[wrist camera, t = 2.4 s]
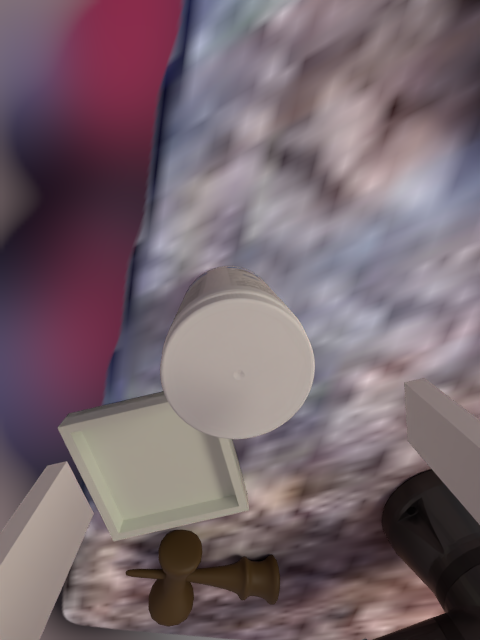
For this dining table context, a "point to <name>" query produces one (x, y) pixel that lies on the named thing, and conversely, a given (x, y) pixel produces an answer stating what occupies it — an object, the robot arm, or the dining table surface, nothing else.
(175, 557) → the kendama
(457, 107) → the dining table surface
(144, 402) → the sage tray
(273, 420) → the supplement tub
